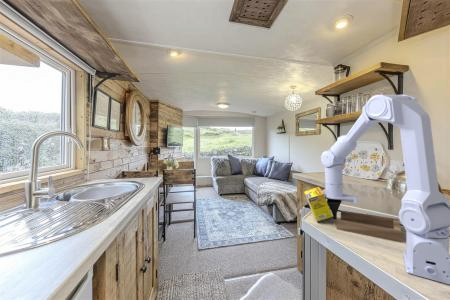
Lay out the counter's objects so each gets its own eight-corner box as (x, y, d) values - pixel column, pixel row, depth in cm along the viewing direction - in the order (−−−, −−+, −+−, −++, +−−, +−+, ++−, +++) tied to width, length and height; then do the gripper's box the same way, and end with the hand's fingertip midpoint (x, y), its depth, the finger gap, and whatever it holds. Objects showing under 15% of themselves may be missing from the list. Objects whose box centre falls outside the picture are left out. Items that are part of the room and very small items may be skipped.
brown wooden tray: (401, 242, 59) (401, 232, 59) (336, 229, 70) (336, 220, 69) (398, 227, 68) (398, 219, 68) (341, 217, 78) (341, 210, 78)
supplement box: (333, 218, 74) (324, 193, 72) (317, 223, 75) (307, 198, 73) (327, 209, 80) (318, 186, 78) (313, 214, 81) (303, 191, 79)
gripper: (358, 182, 73) (359, 218, 74) (315, 179, 82) (316, 211, 83) (356, 187, 67) (357, 226, 68) (310, 183, 76) (312, 217, 77)
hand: (334, 218), depth 75 cm, fingers closed, pressing on supplement box
